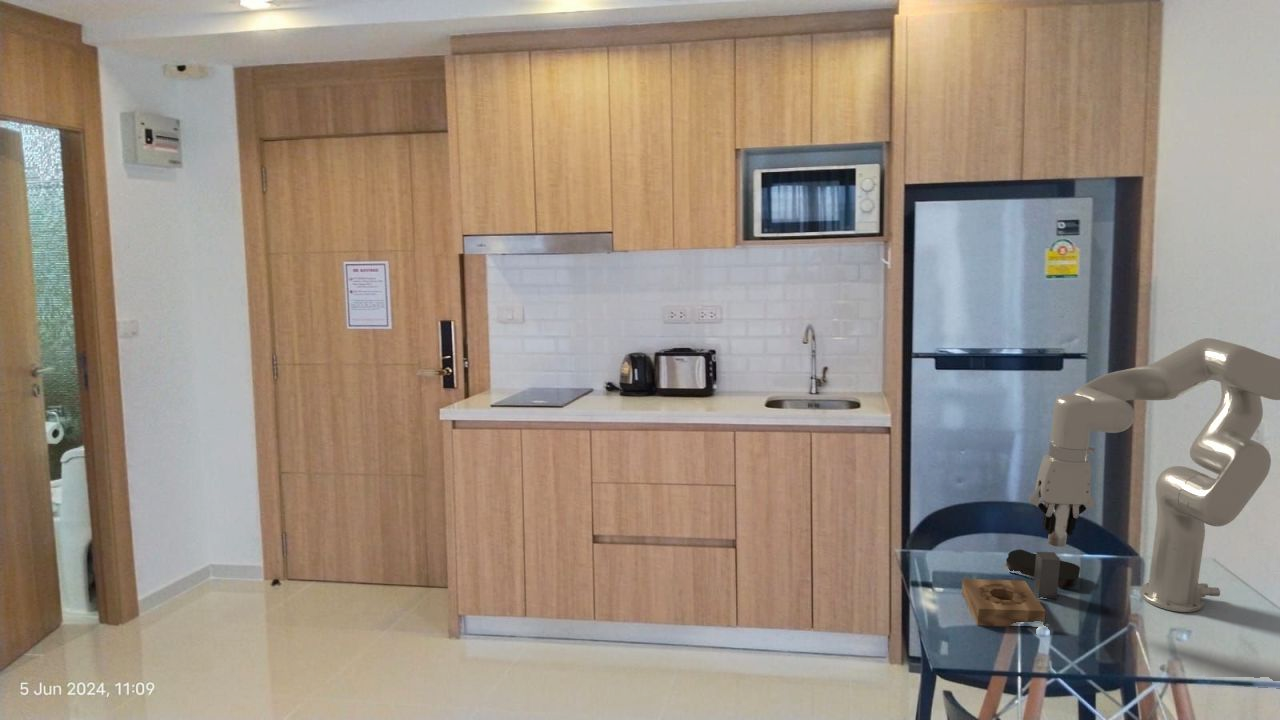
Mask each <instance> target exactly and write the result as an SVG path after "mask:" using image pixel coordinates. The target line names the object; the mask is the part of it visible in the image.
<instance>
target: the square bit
mask: <svg viewBox="0 0 1280 720" xmlns="http://www.w3.org/2000/svg"><path fill="white" fill-rule="evenodd" d="M1035 554H1036V562H1035V572H1034V580H1033V585H1032V590H1033V589H1034V591H1035V593H1036V594H1037V596H1038V598H1040V597H1043V598H1047V599H1050V600H1049V601H1052V600H1051V599H1056V600H1057V597H1058V589H1059V588H1058V579H1059V569H1060V560H1061V559H1060V558H1059V557H1058V555H1057V554H1056V552H1055V551H1054V552H1052V551H1036V553H1035ZM1037 596H1036V597H1037ZM1038 598H1037V599H1038Z"/></svg>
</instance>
